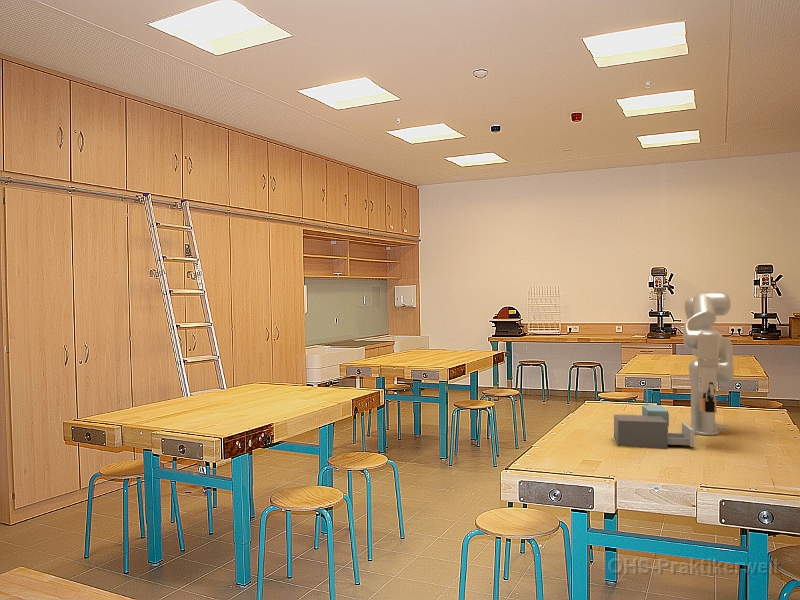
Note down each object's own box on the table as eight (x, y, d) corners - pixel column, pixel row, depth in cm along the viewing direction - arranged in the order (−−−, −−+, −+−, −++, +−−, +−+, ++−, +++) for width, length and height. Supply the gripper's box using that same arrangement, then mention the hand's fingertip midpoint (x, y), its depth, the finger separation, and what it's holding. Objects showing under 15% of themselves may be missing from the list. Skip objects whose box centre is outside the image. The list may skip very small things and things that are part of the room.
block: (713, 410, 263) (713, 397, 263) (716, 412, 258) (716, 399, 258) (699, 410, 264) (699, 397, 264) (702, 412, 259) (702, 399, 259)
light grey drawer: (685, 438, 270) (685, 422, 270) (694, 446, 255) (694, 429, 255) (641, 436, 274) (641, 421, 274) (647, 444, 259) (647, 428, 259)
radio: (671, 440, 274) (671, 391, 274) (647, 439, 275) (647, 390, 276) (664, 433, 289) (664, 386, 289) (641, 432, 291) (641, 386, 291)
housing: (660, 440, 272) (660, 416, 272) (667, 448, 257) (667, 422, 257) (613, 438, 276) (613, 414, 276) (618, 446, 261) (618, 420, 261)
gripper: (692, 361, 270) (692, 406, 270) (702, 365, 253) (702, 414, 253) (712, 361, 268) (712, 407, 269) (724, 366, 252) (724, 414, 252)
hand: (708, 410), depth 261 cm, fingers closed on block, 4 cm apart
